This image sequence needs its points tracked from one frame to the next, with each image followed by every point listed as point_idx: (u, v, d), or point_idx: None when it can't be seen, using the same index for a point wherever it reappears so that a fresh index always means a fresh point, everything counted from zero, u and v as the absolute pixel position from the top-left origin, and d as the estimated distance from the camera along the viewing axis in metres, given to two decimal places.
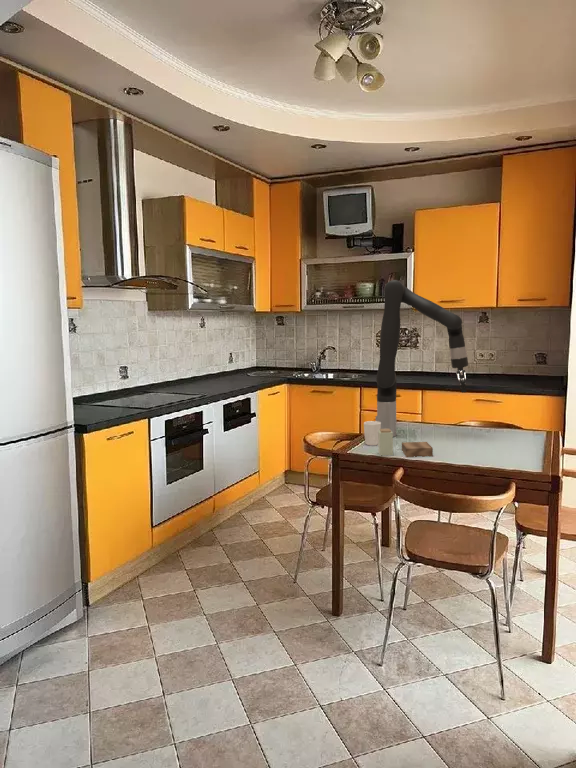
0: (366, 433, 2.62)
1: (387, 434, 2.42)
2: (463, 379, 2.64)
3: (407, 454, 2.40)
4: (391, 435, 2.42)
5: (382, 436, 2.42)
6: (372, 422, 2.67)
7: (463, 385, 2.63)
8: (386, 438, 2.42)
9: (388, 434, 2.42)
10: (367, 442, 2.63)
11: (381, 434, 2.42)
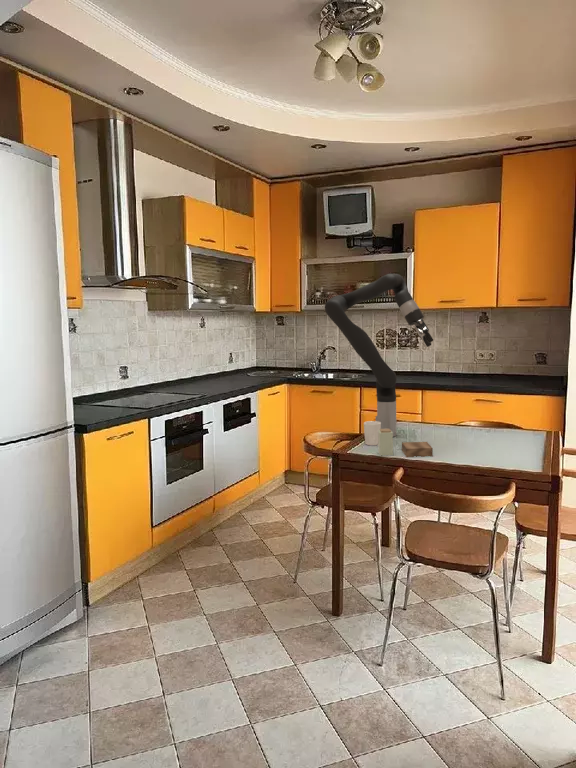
0: (366, 433, 2.62)
1: (387, 434, 2.42)
2: (425, 329, 2.45)
3: (407, 454, 2.40)
4: (391, 435, 2.42)
5: (382, 436, 2.42)
6: (372, 422, 2.67)
7: (427, 334, 2.43)
8: (386, 438, 2.42)
9: (388, 434, 2.42)
10: (367, 442, 2.63)
11: (381, 434, 2.42)
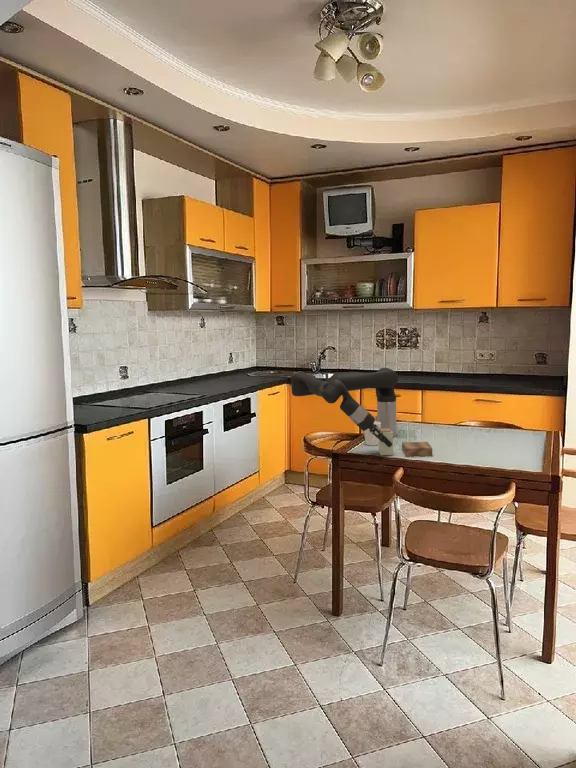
0: (366, 433, 2.62)
1: (387, 434, 2.42)
2: None
3: (407, 454, 2.40)
4: (391, 435, 2.42)
5: (382, 436, 2.42)
6: None
7: (386, 440, 2.41)
8: None
9: (388, 434, 2.42)
10: (367, 442, 2.63)
11: None
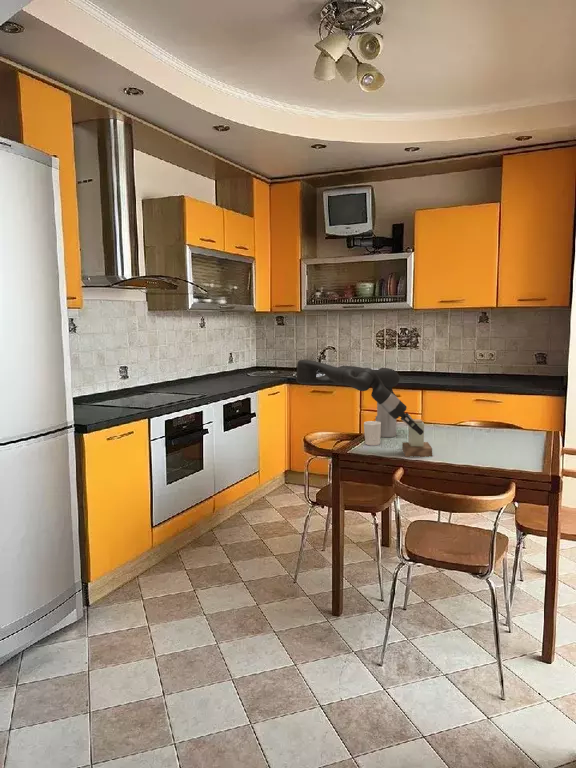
0: (366, 433, 2.62)
1: (418, 424, 2.41)
2: (412, 422, 2.40)
3: (406, 454, 2.40)
4: (422, 426, 2.41)
5: None
6: (372, 422, 2.67)
7: (417, 428, 2.39)
8: None
9: (419, 424, 2.41)
10: (367, 442, 2.63)
11: (412, 424, 2.41)
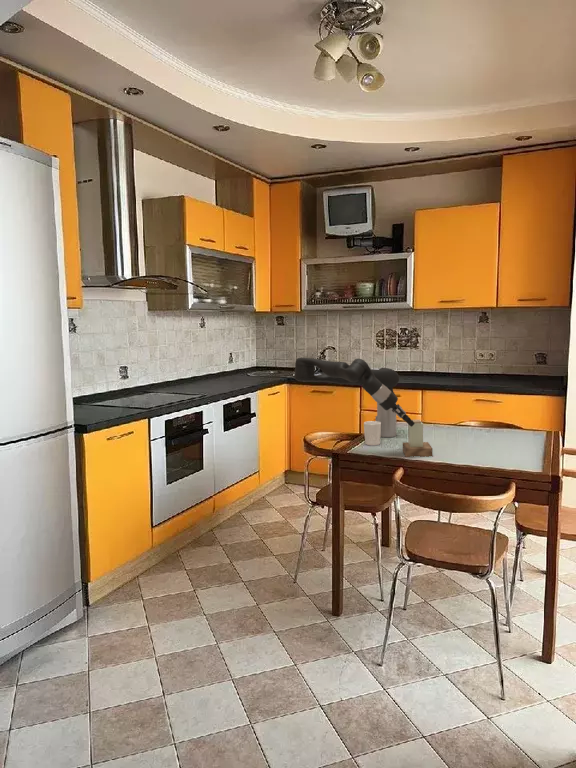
0: (366, 433, 2.62)
1: (417, 425, 2.41)
2: (403, 414, 2.39)
3: (407, 454, 2.40)
4: (421, 426, 2.41)
5: (412, 427, 2.41)
6: (372, 422, 2.67)
7: (408, 419, 2.38)
8: (416, 429, 2.41)
9: (418, 425, 2.41)
10: (367, 442, 2.63)
11: None
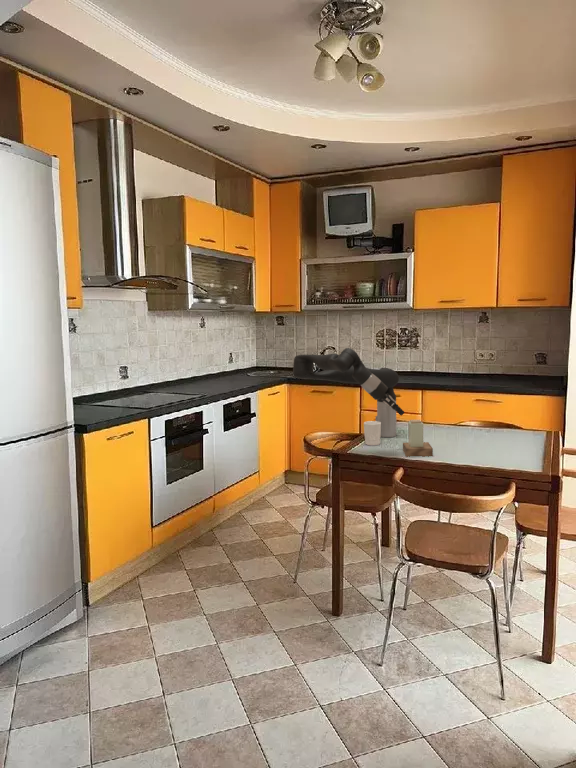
0: (366, 433, 2.62)
1: (417, 425, 2.41)
2: (393, 403, 2.39)
3: (407, 454, 2.40)
4: (422, 426, 2.41)
5: (412, 427, 2.41)
6: (372, 422, 2.67)
7: (397, 408, 2.38)
8: (416, 429, 2.41)
9: (418, 425, 2.41)
10: (367, 442, 2.63)
11: (411, 425, 2.41)
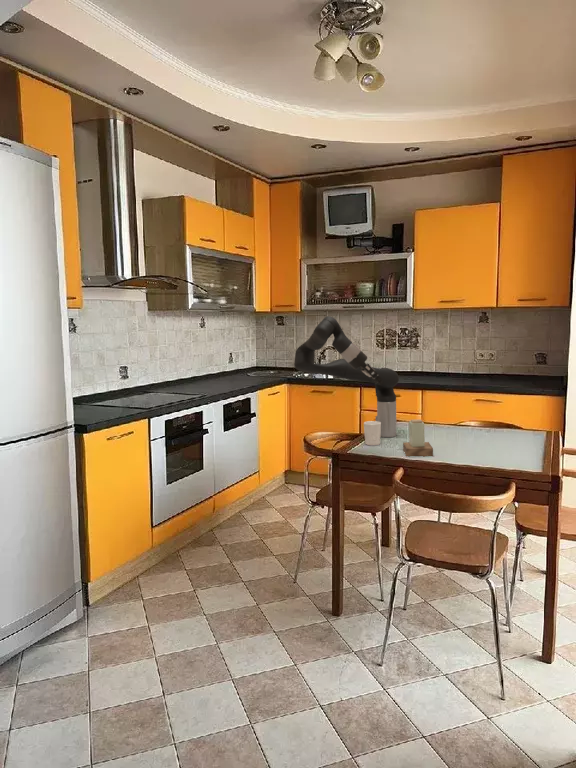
0: (366, 433, 2.62)
1: (419, 425, 2.41)
2: (373, 372, 2.38)
3: (407, 454, 2.40)
4: (423, 426, 2.41)
5: (414, 427, 2.41)
6: (372, 422, 2.67)
7: (377, 377, 2.36)
8: (418, 429, 2.41)
9: (420, 425, 2.41)
10: (367, 442, 2.63)
11: (412, 425, 2.41)
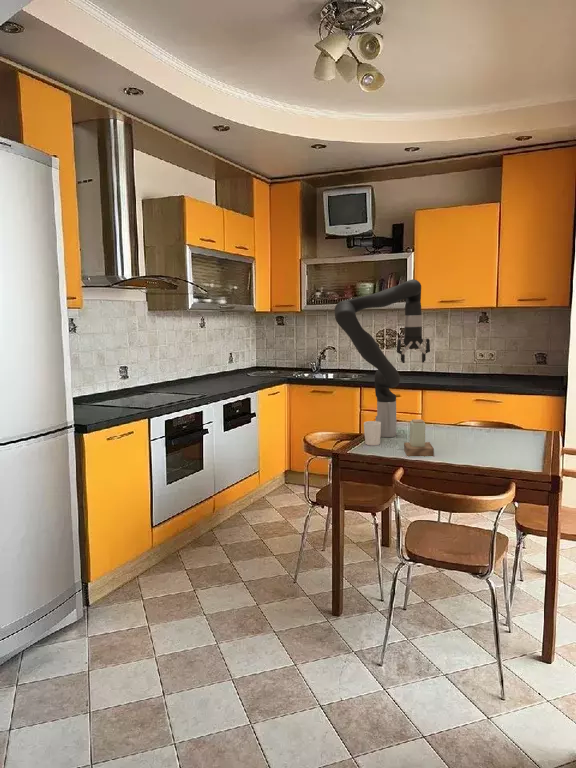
0: (366, 433, 2.62)
1: (420, 425, 2.41)
2: None
3: (408, 454, 2.41)
4: (424, 426, 2.41)
5: (415, 427, 2.41)
6: (372, 422, 2.67)
7: None
8: (419, 429, 2.42)
9: (421, 425, 2.41)
10: (367, 442, 2.63)
11: (414, 425, 2.41)
